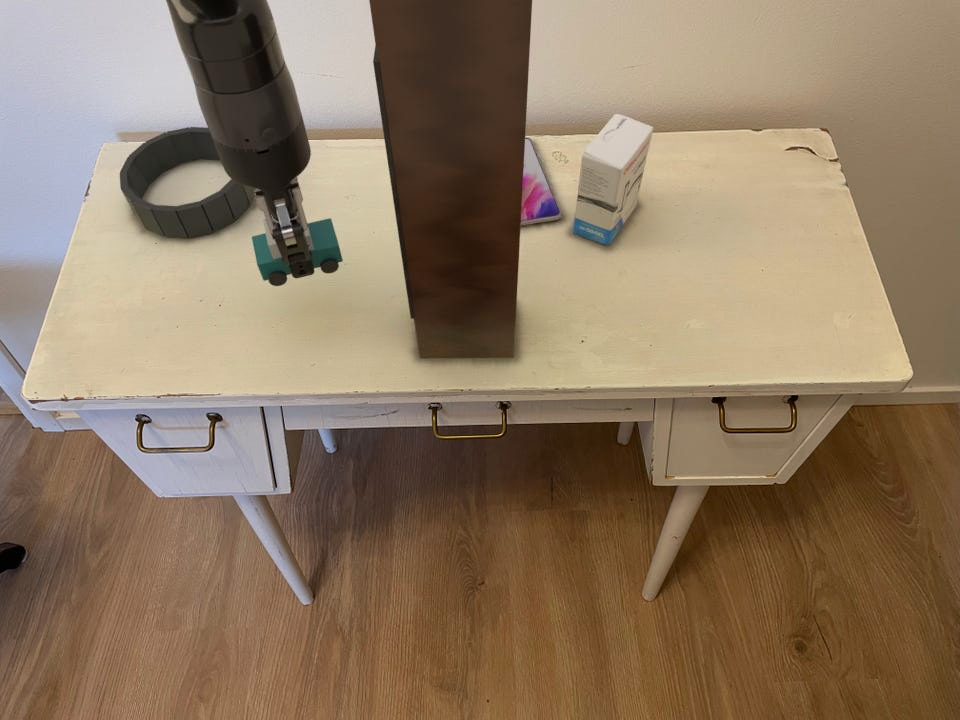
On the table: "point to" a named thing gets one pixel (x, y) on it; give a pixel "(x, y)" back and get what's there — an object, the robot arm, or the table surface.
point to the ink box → (611, 178)
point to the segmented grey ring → (187, 217)
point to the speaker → (456, 163)
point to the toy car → (320, 246)
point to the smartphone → (536, 190)
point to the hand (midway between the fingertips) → (299, 257)
